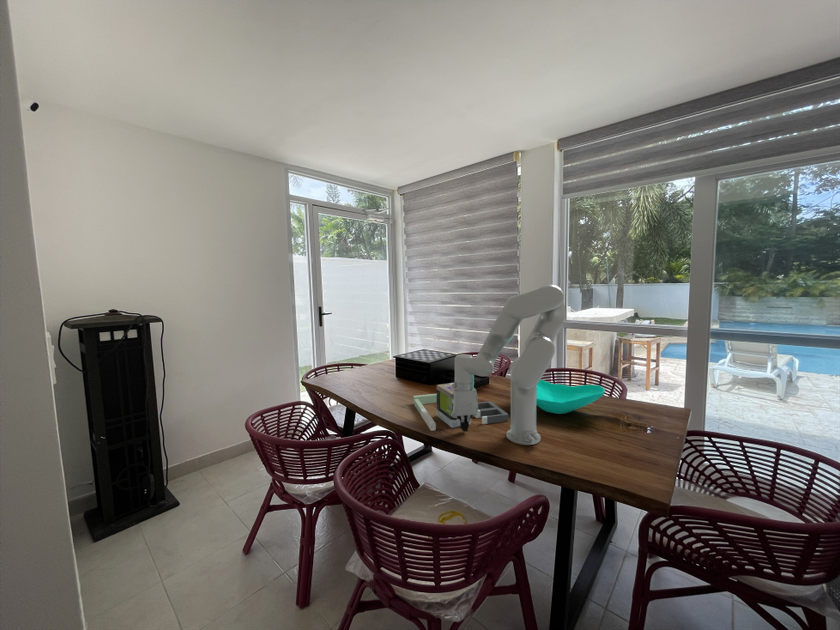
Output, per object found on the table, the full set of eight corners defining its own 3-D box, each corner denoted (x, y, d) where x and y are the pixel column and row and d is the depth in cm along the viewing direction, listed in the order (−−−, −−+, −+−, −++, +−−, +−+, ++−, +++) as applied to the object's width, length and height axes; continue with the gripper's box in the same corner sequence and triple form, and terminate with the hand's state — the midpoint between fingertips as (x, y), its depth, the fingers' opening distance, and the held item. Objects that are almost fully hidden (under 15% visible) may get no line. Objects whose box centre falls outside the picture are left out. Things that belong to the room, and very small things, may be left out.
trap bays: (508, 421, 145) (508, 414, 145) (487, 423, 143) (487, 416, 143) (491, 407, 162) (491, 401, 161) (471, 409, 159) (471, 403, 159)
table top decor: (607, 409, 156) (607, 381, 155) (601, 431, 133) (602, 399, 132) (522, 395, 178) (522, 371, 177) (504, 412, 155) (504, 384, 154)
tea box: (472, 424, 142) (471, 390, 141) (450, 428, 139) (450, 394, 137) (455, 412, 156) (455, 381, 155) (436, 415, 153) (435, 384, 151)
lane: (487, 423, 143) (487, 414, 142) (431, 430, 137) (430, 421, 136) (459, 398, 175) (459, 391, 174) (413, 403, 169) (413, 396, 168)
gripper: (449, 390, 127) (450, 436, 129) (485, 386, 131) (485, 431, 132) (443, 384, 134) (443, 428, 136) (477, 381, 138) (477, 424, 140)
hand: (464, 430), depth 134 cm, fingers closed
